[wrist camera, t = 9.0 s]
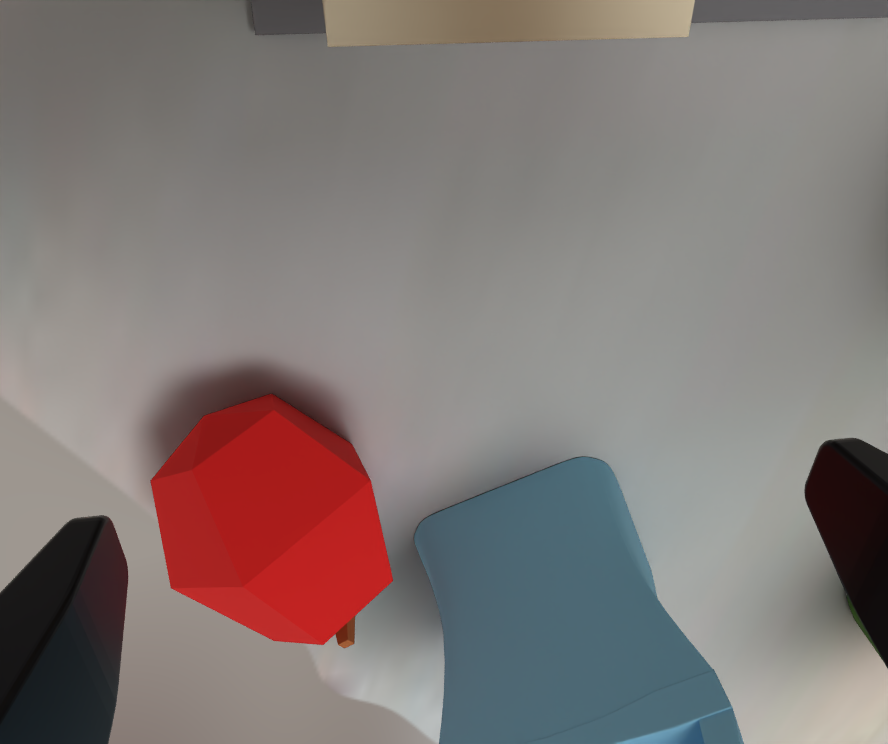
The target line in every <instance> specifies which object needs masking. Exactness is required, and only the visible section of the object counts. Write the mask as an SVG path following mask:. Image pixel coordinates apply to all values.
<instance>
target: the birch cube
mask: <svg viewBox="0 0 888 744" xmlns="http://www.w3.org/2000/svg"><path fill="white" fill-rule="evenodd" d="M322 2H323V11H324V19H325V27H326V35H327V43H328V47H340V46H376V45H412V44H448V43H484V42H520V41H556V40H592V39H628V38H664V37H688V36H689V30H690V25H691V19H692V14H693V8H694V3H695V0H322Z"/></svg>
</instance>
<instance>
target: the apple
mask: <svg viewBox="0 0 888 744" xmlns="http://www.w3.org/2000/svg"><path fill="white" fill-rule="evenodd" d="M151 486H152V491H153V496H154V502H155V507H156V512H157V517H158V523H159V528H160V533H161V538H162V544H163V549H164V554H165V559H166V565H167V569H168V575H169V580H170V586H171V588H172V589H174V590H176V591H177V592H179V593H181V594H183V595H186V596H187V597H189V598H191V599H193V600H195V601H197V602H199V603H201V604H203V605H205V606H207V607H209V608H211V609H213V610H215V611H217V612H219V613H221V614H223V615H224V616H227V617H229V618H230V619H232V620H234V621H236V622H238V623H240V624H242V625H244V626H246V627H248V628H250V629H252V630H254V631H256V632H258V633H260V634H262V635H264V636H266V637H268V638H269V639H272V640H273V641H282V642H295V643H306V644H319V645H324V644H325V643H326V642H327V641H328V640H329V639H330V638H331V637H332V636H333V635H335V634H336V638H337V642H338V645H339V646H341V647H343V648H346V647H348V646H350V645H353V644H354V636H355V615H356V614H357V613H358V612H360V611H361V610H362V609H363V608H364V607H365V606H366V605H367V604H368V603H369V602H370V601H372V600H373V599H374V598H375V597H376V596H377V595H378V594H379V593H380V592H381V591H382V590H383V589H385V588H386V587H387V586H388V585H389V584H390V583H391V582H392V581H393V577H392V573H391V569H390V564H389V560H388V555H387V551H386V546H385V542H384V537H383V533H382V529H381V524H380V520H379V515H378V511H377V506H376V502H375V497H374V493H373V489H372V484H371V480H370V478H369V476H368V474H367V472H366V470H365V468H364V467H363V465H362V463H361V461H360V459H359V457H358V455H357V453H356V451H355V449H354V447H353V445H352V444H351V443H349V442H348V441H346V440H345V439H343V438H341V437H340V436H338V435H337V434H335V433H334V432H332V431H330V430H329V429H327V428H326V427H324V426H322V425H321V424H319V423H318V422H316V421H315V420H313V419H311V418H310V417H308V416H307V415H305V414H303V413H302V412H300V411H299V410H297V409H296V408H294V407H292V406H291V405H289V404H288V403H286V402H285V401H283V400H281V399H280V398H278V397H277V396H275V395H273V394H269V395H266V396H263V397H259V398H256V399H253V400H250V401H247V402H244V403H241V404H238V405H235V406H232V407H229V408H226V409H223V410H220V411H217V412H214V413H211V414H208V415H205V416H203V417H202V419H201V420H200V421H199V422H198V423H197V425H196V426H195V427H194V428H193V430H192V431H191V432H190V433H189V434H188V436H187V437H186V438H185V439H184V441H183V442H182V443H181V444H180V445H179V447H178V448H177V449H176V450H175V452H174V453H173V454H172V455H171V456H170V458H169V459H168V460H167V461H166V462H165V464H164V465H163V466H162V467H161V469H160V470H159V471H158V472H157V473H156V475H155V476H154V477H153V478H152V480H151Z"/></svg>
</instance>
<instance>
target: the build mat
mask: <svg viewBox="0 0 888 744" xmlns="http://www.w3.org/2000/svg"><path fill="white" fill-rule="evenodd" d="M251 5H252V13H253V21H254V28H255V35H274V34H309V33H326V27H325V19H324V11H323V2H322V0H251ZM879 17H888V0H695V3H694V8H693V14H692V19H691V23H701V22H737V21H773V20H808V19H844V18H879Z"/></svg>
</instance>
